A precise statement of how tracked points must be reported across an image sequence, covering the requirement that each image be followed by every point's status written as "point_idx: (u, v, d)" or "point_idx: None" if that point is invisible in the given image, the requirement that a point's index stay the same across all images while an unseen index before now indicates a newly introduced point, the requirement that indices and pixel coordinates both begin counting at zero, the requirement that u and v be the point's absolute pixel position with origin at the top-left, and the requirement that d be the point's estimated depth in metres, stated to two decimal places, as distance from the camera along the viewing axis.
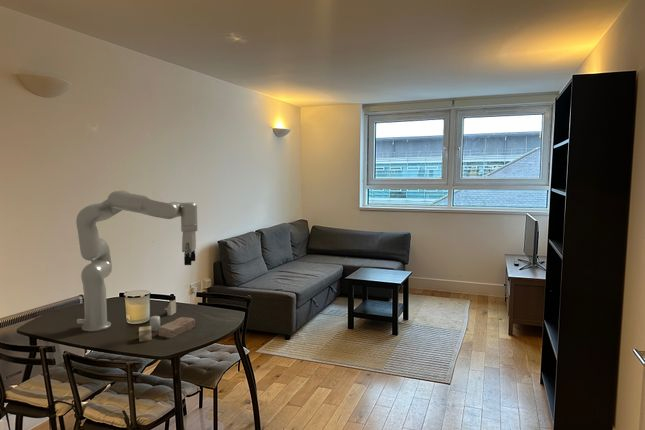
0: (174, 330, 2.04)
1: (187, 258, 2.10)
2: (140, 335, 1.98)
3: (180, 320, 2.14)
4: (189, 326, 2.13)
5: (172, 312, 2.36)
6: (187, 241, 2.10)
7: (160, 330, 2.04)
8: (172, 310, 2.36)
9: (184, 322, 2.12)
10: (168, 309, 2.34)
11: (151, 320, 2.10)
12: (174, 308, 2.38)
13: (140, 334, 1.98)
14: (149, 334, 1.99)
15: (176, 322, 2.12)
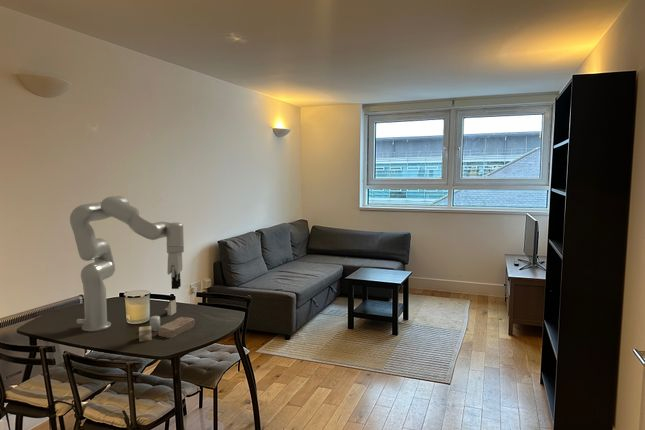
0: (174, 330, 2.04)
1: (174, 282, 2.06)
2: (140, 335, 1.98)
3: (180, 320, 2.14)
4: (189, 326, 2.13)
5: (172, 312, 2.36)
6: (173, 263, 2.03)
7: (160, 330, 2.04)
8: (172, 310, 2.36)
9: (184, 322, 2.12)
10: (168, 309, 2.34)
11: (151, 320, 2.10)
12: (174, 308, 2.38)
13: (140, 334, 1.98)
14: (149, 334, 1.99)
15: (176, 322, 2.12)
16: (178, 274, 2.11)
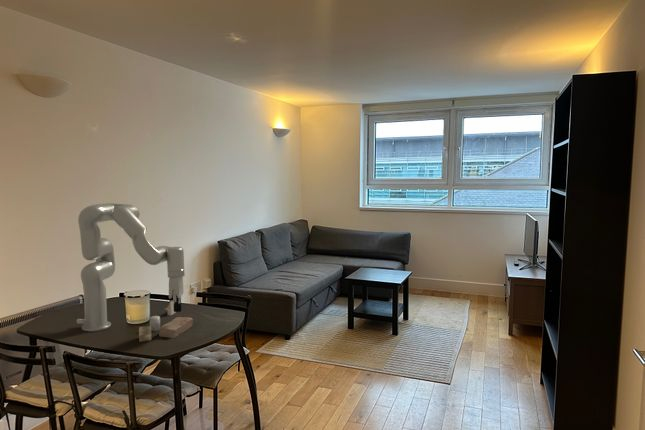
0: (176, 330, 2.04)
1: (176, 305, 2.08)
2: (140, 335, 1.98)
3: (178, 320, 2.14)
4: (188, 325, 2.14)
5: (172, 312, 2.36)
6: (174, 288, 2.04)
7: (161, 331, 2.04)
8: (172, 310, 2.36)
9: (183, 322, 2.12)
10: (168, 309, 2.34)
11: (151, 320, 2.10)
12: None
13: (140, 334, 1.98)
14: (149, 334, 1.99)
15: (175, 322, 2.12)
16: (179, 298, 2.11)
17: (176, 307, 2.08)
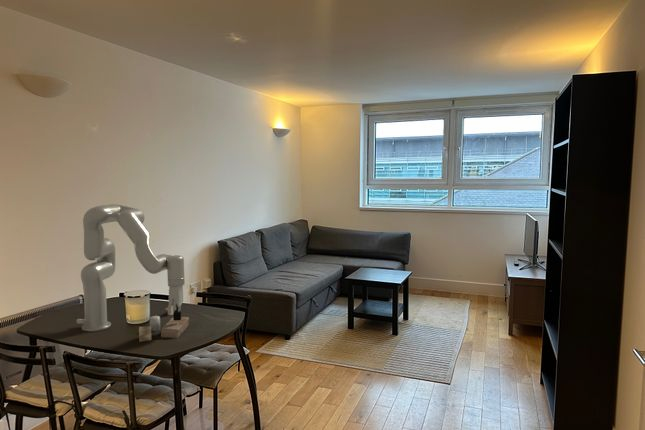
0: (179, 329, 2.05)
1: (176, 313, 2.09)
2: (140, 335, 1.98)
3: None
4: (186, 324, 2.15)
5: (172, 312, 2.36)
6: (174, 296, 2.04)
7: (164, 332, 2.03)
8: (172, 310, 2.36)
9: (182, 321, 2.13)
10: (168, 309, 2.34)
11: (151, 320, 2.10)
12: None
13: (140, 334, 1.98)
14: (149, 334, 1.99)
15: (173, 322, 2.11)
16: None
17: (176, 316, 2.09)
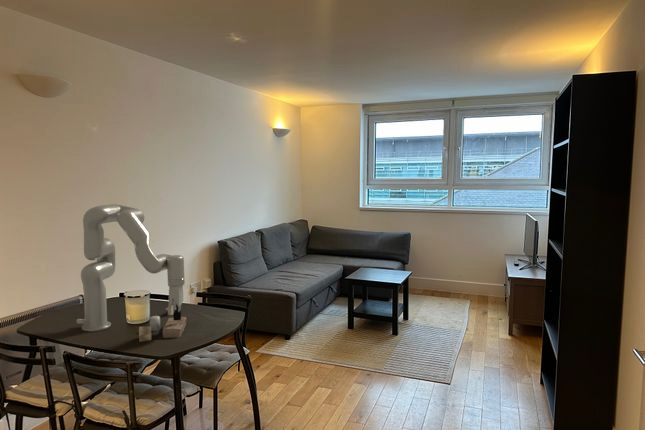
0: (181, 329, 2.05)
1: (176, 313, 2.09)
2: (140, 335, 1.98)
3: (173, 320, 2.14)
4: (185, 324, 2.16)
5: (172, 312, 2.36)
6: (174, 296, 2.04)
7: (166, 332, 2.03)
8: (172, 310, 2.36)
9: (180, 321, 2.13)
10: (168, 309, 2.34)
11: (151, 320, 2.10)
12: None
13: (140, 334, 1.98)
14: (149, 334, 1.99)
15: (172, 322, 2.11)
16: (178, 306, 2.11)
17: (176, 315, 2.09)
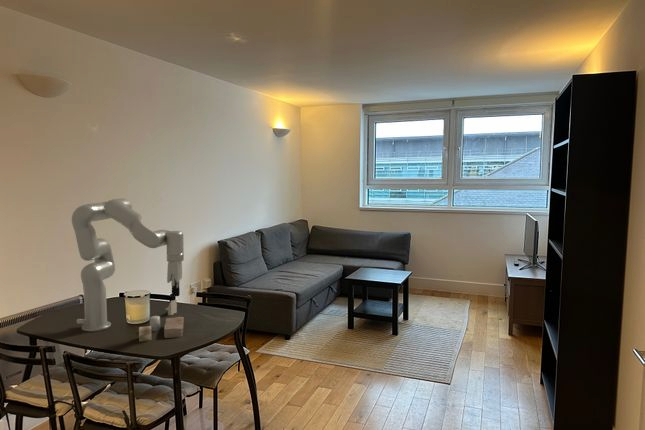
0: (182, 328, 2.06)
1: (174, 289, 2.08)
2: (140, 335, 1.98)
3: (172, 320, 2.14)
4: None
5: (173, 312, 2.36)
6: (172, 271, 2.03)
7: (167, 332, 2.02)
8: (173, 310, 2.36)
9: (179, 321, 2.14)
10: (168, 309, 2.34)
11: (151, 320, 2.10)
12: (175, 308, 2.38)
13: (140, 334, 1.98)
14: (149, 334, 1.99)
15: (172, 322, 2.11)
16: (177, 283, 2.10)
17: (174, 291, 2.08)
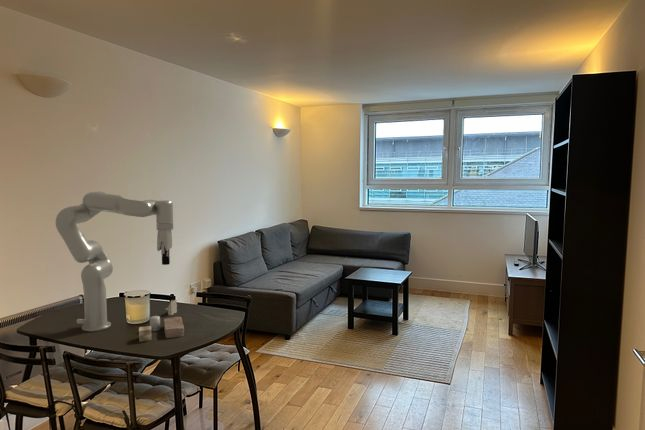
0: (183, 328, 2.07)
1: (164, 258, 2.12)
2: (140, 335, 1.98)
3: (171, 321, 2.13)
4: None
5: (173, 312, 2.36)
6: (162, 239, 2.07)
7: (169, 332, 2.02)
8: (173, 310, 2.36)
9: (178, 321, 2.14)
10: (169, 309, 2.34)
11: (151, 320, 2.10)
12: (175, 308, 2.38)
13: (140, 334, 1.98)
14: (149, 334, 1.99)
15: (171, 323, 2.11)
16: None
17: (164, 260, 2.12)
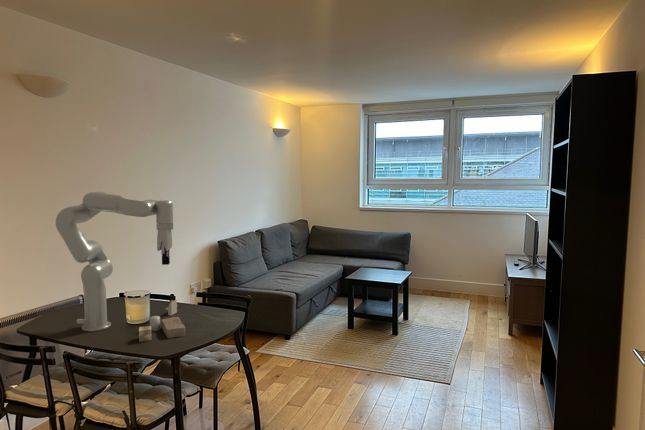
0: (184, 327, 2.07)
1: (164, 258, 2.12)
2: (140, 335, 1.98)
3: (169, 321, 2.13)
4: None
5: (173, 312, 2.36)
6: (162, 239, 2.07)
7: (171, 332, 2.02)
8: (173, 310, 2.36)
9: (177, 321, 2.14)
10: (169, 309, 2.34)
11: (151, 320, 2.10)
12: (175, 308, 2.38)
13: (140, 334, 1.98)
14: (149, 334, 1.99)
15: (170, 323, 2.11)
16: None
17: (164, 260, 2.12)
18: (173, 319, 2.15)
